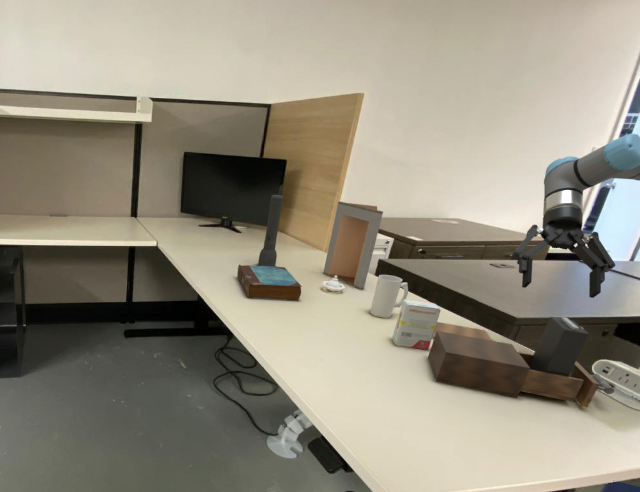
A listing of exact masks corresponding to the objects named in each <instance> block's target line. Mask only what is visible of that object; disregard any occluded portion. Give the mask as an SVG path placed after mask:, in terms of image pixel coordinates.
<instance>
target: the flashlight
mask: <svg viewBox="0 0 640 492" xmlns="http://www.w3.org/2000/svg"><path fill="white" fill-rule="evenodd" d="M283 202H284V196H283V195H280V194H271V197H270V202H269V211H268V218H267V224H266V231H265V238H264V242H263V248H262V249H261V250H260V252H259V255H258V256H259V257H258V262H257V266H272V267H276V264H277V257H278V255H277V250H276V246H277V237H278V233H279V226H280V220H281V213H282V208H283V204H284V203H283Z"/></svg>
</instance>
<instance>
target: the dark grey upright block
mask: <svg viewBox="0 0 640 492" xmlns="http://www.w3.org/2000/svg"><path fill="white" fill-rule="evenodd" d="M589 336H590V333H589V332H588V331H587V330H586V329H584V328H583V327H582V326H581V325H579V323H577V322H576V321H574V320H573V319H569V318H568V317H565V316H564V317H554V316H550V317H549V319H548V321H547V324H546V326H545V327H544V330H543V333H542V335H541V337H540V340H539V341H538V344H537V346H536V348H535V351H534V353H533V354H534V355H533V357H532V360H531V362H530V364H529V367H530V370H536V371H541V372H546V373H551V374H557V375H562V376H567V377H568V376H569V374H570V372H571V370H572V368H573V366H574V364H575V362H576V361H577V360H578V359H579V356H580V354H581V352H582V350H583V348H584V346H585V344H586V342H587V340H588V337H589Z"/></svg>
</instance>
